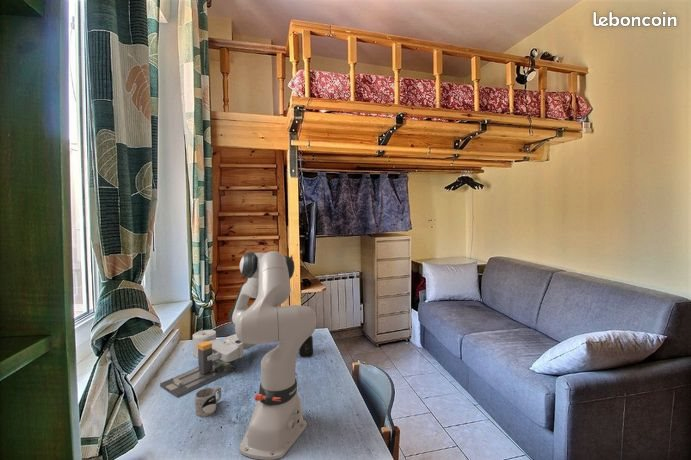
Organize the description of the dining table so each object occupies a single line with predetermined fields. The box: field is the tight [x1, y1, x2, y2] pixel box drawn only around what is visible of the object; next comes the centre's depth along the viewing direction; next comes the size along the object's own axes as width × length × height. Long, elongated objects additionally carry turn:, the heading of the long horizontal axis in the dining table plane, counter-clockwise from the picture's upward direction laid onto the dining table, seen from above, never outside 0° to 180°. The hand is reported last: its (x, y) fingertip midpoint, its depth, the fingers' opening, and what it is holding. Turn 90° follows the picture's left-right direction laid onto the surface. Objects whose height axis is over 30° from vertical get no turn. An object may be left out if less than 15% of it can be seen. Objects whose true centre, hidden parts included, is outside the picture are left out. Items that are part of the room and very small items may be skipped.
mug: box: [194, 386, 222, 418], centre depth 112 cm, size 10×7×7 cm
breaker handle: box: [197, 341, 213, 374], centre depth 135 cm, size 4×4×12 cm
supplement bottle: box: [298, 335, 314, 358], centre depth 153 cm, size 7×7×12 cm
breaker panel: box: [159, 359, 237, 398], centre depth 133 cm, size 26×14×3 cm, turn 145°
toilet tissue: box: [192, 329, 217, 359], centre depth 156 cm, size 11×12×10 cm
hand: (203, 356), depth 134 cm, fingers closed on breaker handle, 4 cm apart
